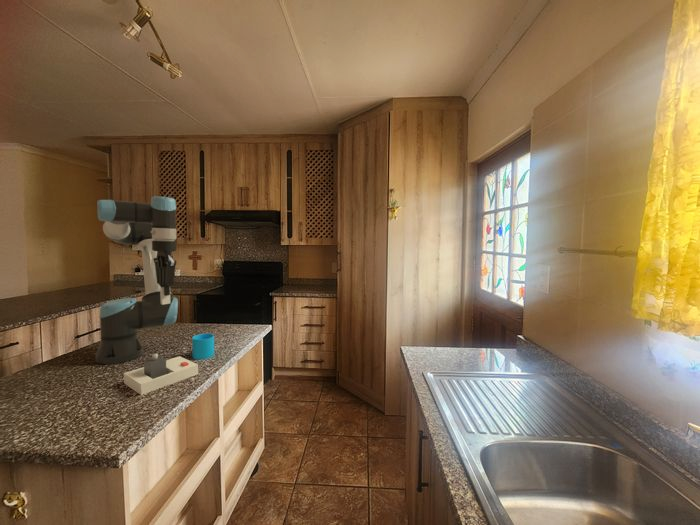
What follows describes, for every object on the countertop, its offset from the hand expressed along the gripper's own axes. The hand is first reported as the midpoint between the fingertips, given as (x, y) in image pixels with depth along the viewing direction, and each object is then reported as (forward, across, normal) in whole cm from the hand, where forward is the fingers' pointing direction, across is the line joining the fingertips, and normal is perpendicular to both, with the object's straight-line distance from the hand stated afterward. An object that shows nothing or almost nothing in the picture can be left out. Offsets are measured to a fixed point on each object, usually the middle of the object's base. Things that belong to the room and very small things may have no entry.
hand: (165, 303), depth 108 cm
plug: (+24, +9, -7) cm, 26 cm away
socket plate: (+24, +9, -5) cm, 26 cm away
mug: (+25, -2, +16) cm, 30 cm away
